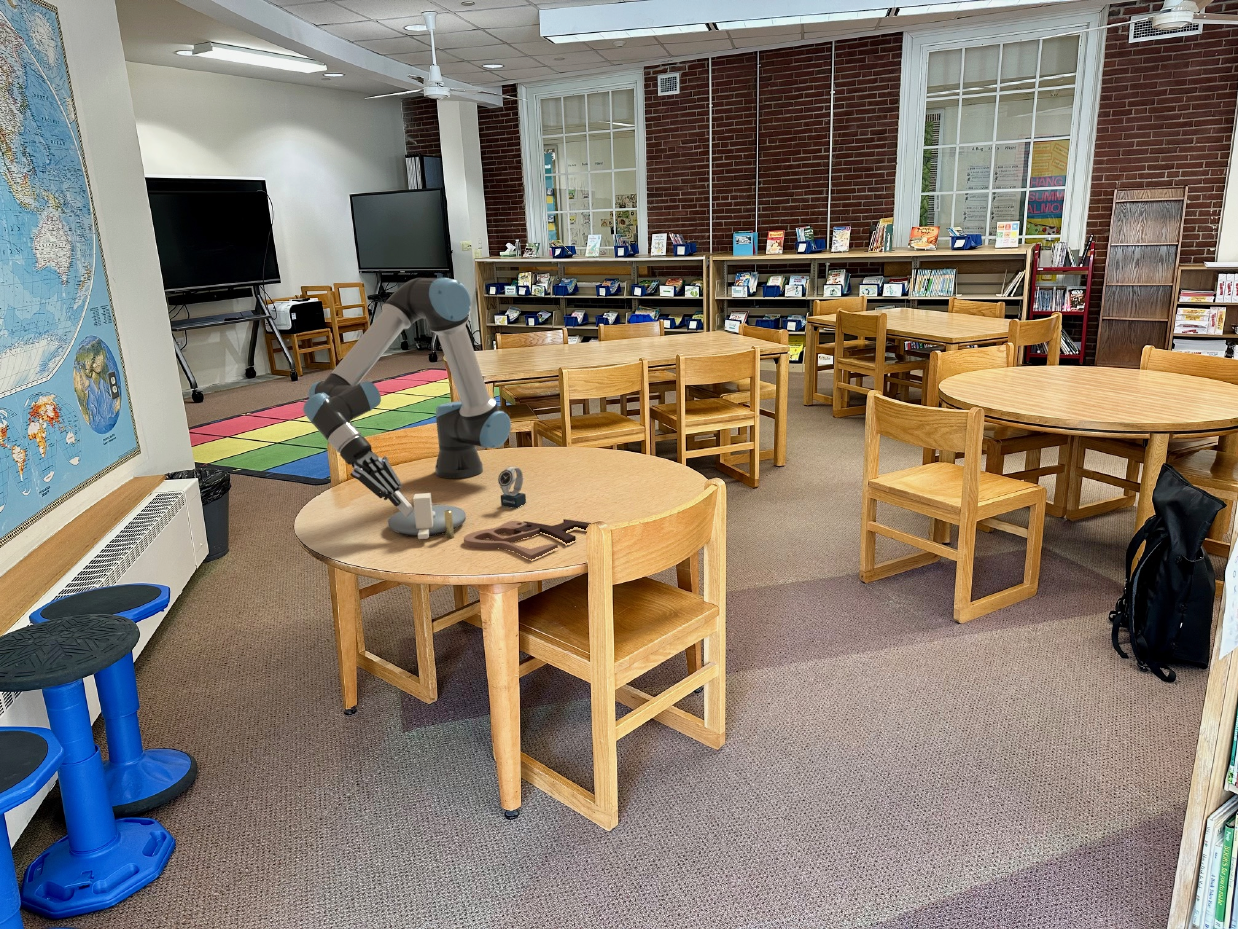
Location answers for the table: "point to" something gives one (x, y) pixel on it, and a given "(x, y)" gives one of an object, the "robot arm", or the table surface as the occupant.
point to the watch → (506, 481)
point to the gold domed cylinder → (449, 524)
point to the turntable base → (429, 533)
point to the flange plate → (438, 520)
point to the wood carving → (522, 536)
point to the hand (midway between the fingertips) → (410, 513)
